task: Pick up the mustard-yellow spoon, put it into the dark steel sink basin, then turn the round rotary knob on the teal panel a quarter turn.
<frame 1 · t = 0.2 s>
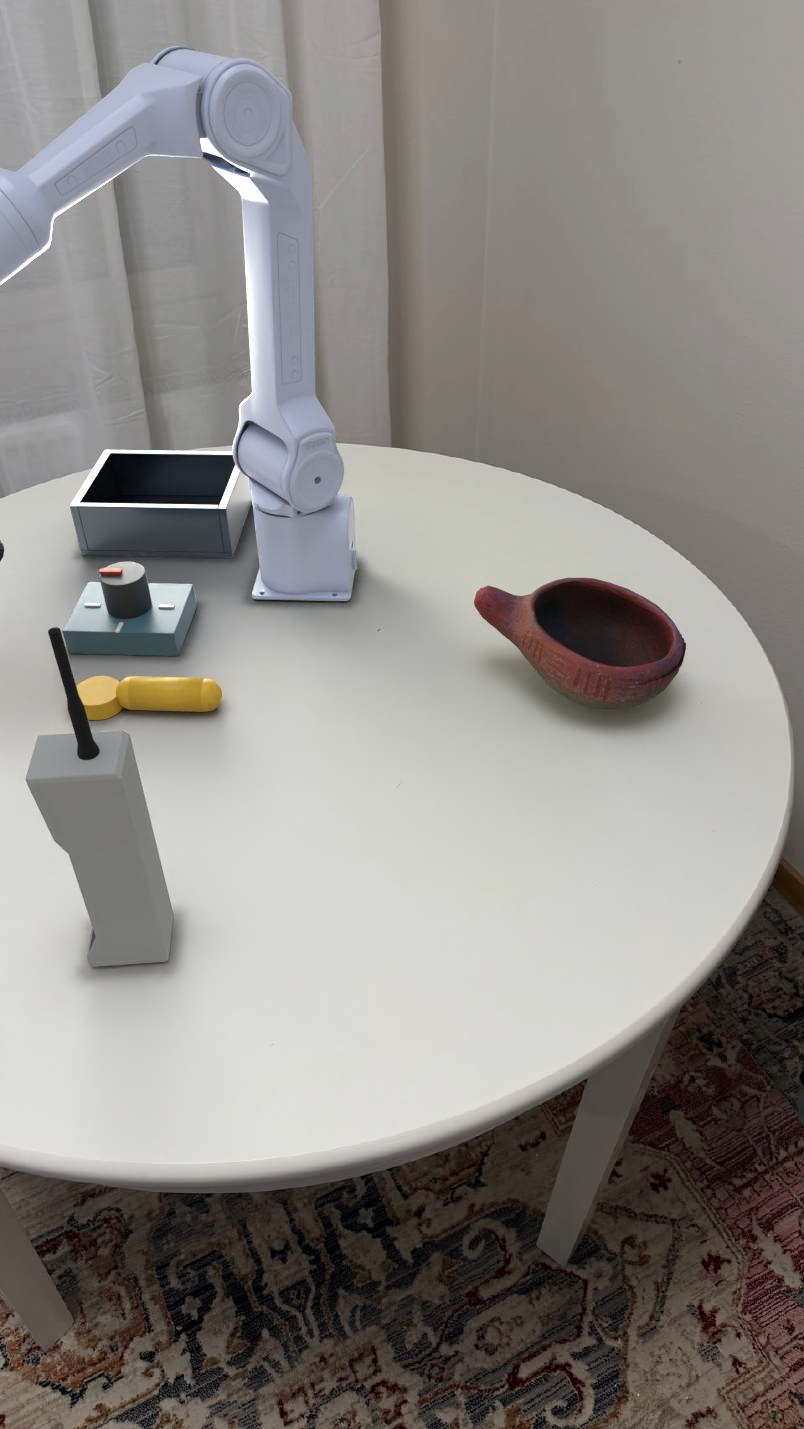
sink: (171, 525, 107), on the table
tap panel: (134, 629, 93), on the table
bowl: (577, 689, 86), on the table
rotary knob: (125, 588, 90), point 4 cm above the table, hinge at 0.0°
vintage mobile phone: (134, 944, 66), on the table
spoon: (171, 707, 84), on the table
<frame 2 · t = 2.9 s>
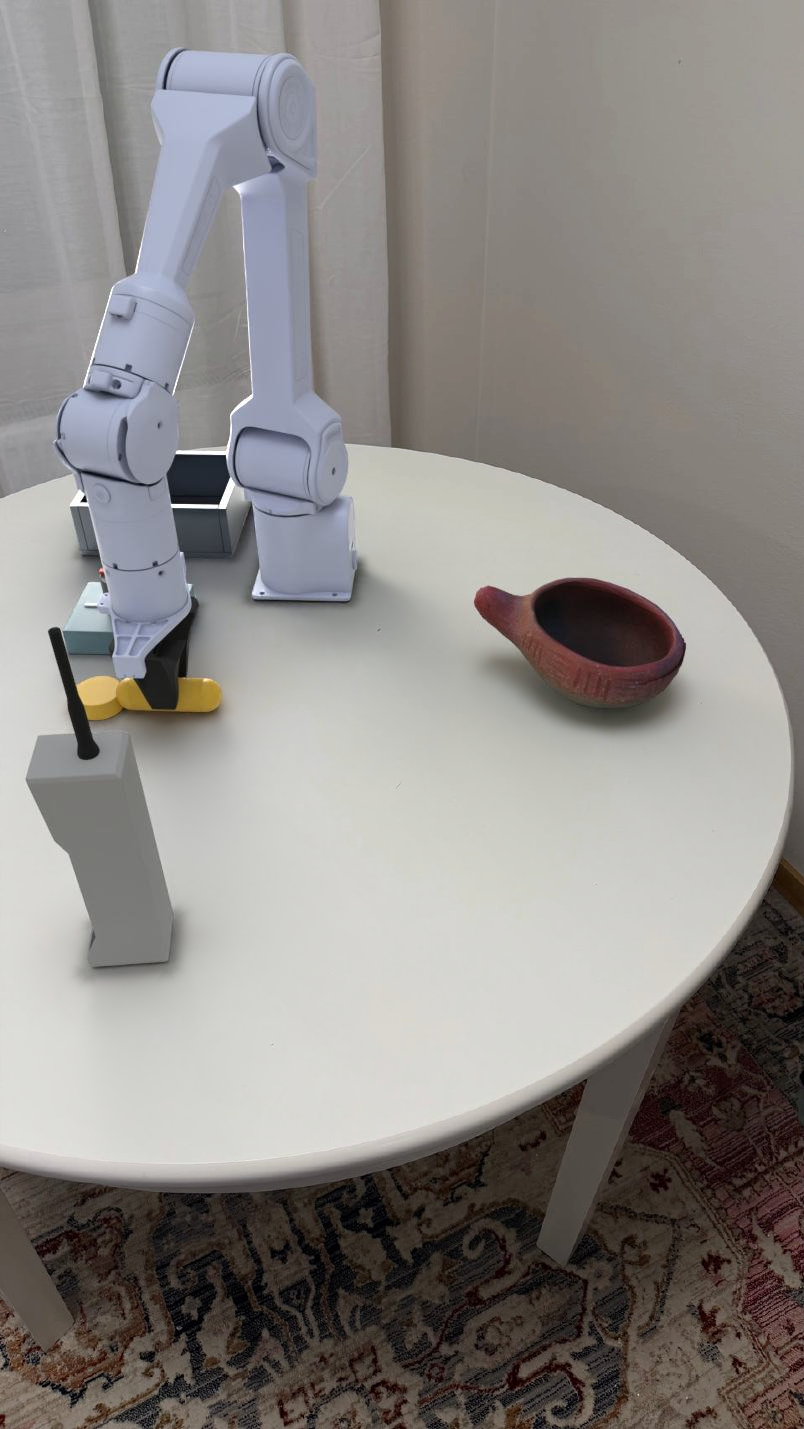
hand: (169, 693, 83), 1 cm above the table, tool pointing down, fingers closed on spoon, 3 cm apart
spoon: (171, 707, 84), on the table, touching gripper
everything else where it was.
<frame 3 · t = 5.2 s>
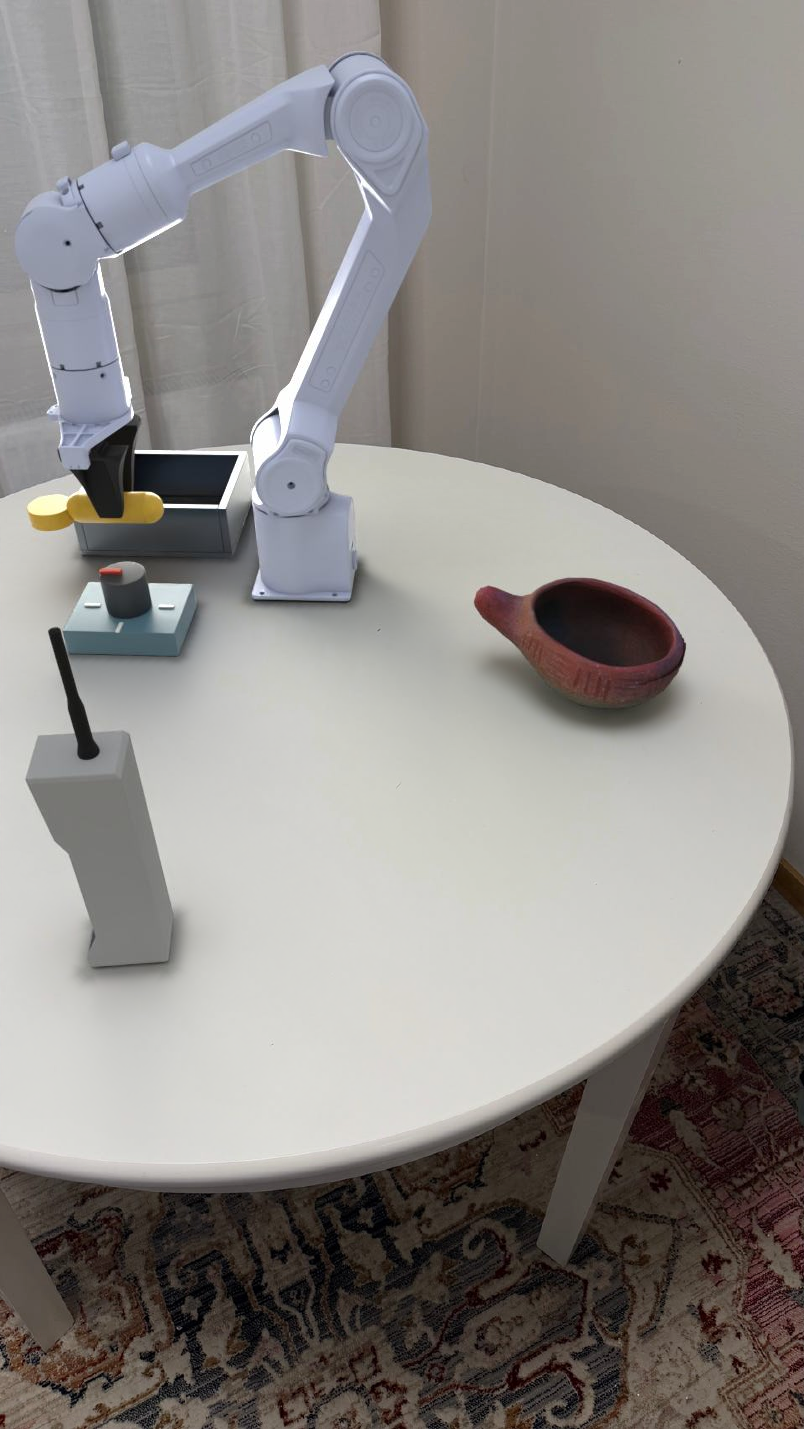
hand: (116, 507, 91), 9 cm above the table, tool pointing down, fingers closed on spoon, 3 cm apart
spoon: (118, 521, 92), point 8 cm above the table, touching gripper
everything else where it was.
when the fingers open (4 cm above the table, at t = 7.7 s): spoon stays where it is, resting on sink.
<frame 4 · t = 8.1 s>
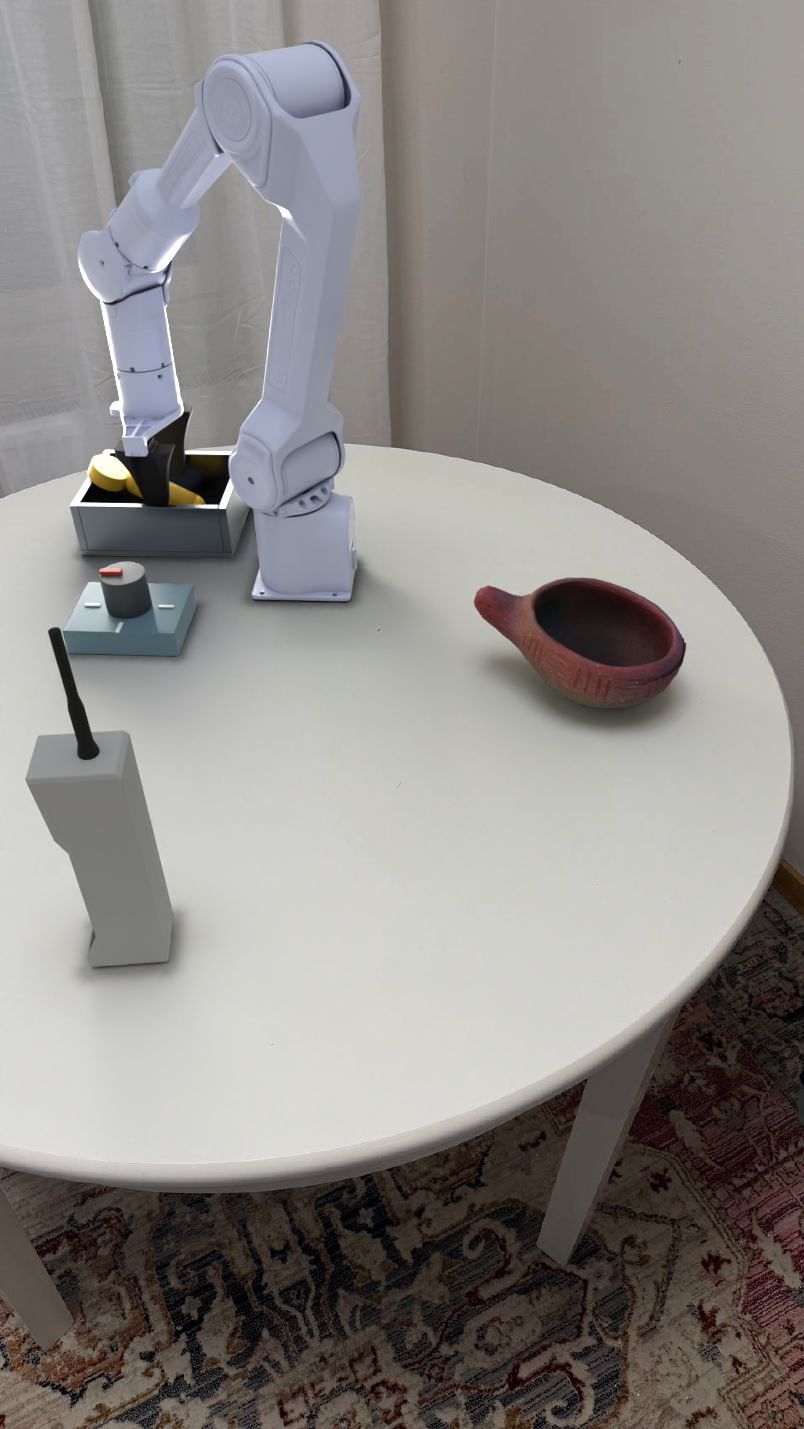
hand: (166, 490, 105), 4 cm above the table, tool pointing down, fingers open, 6 cm apart
spoon: (161, 504, 106), point 2 cm above the table, tilted 29°, touching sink
everything else where it was.
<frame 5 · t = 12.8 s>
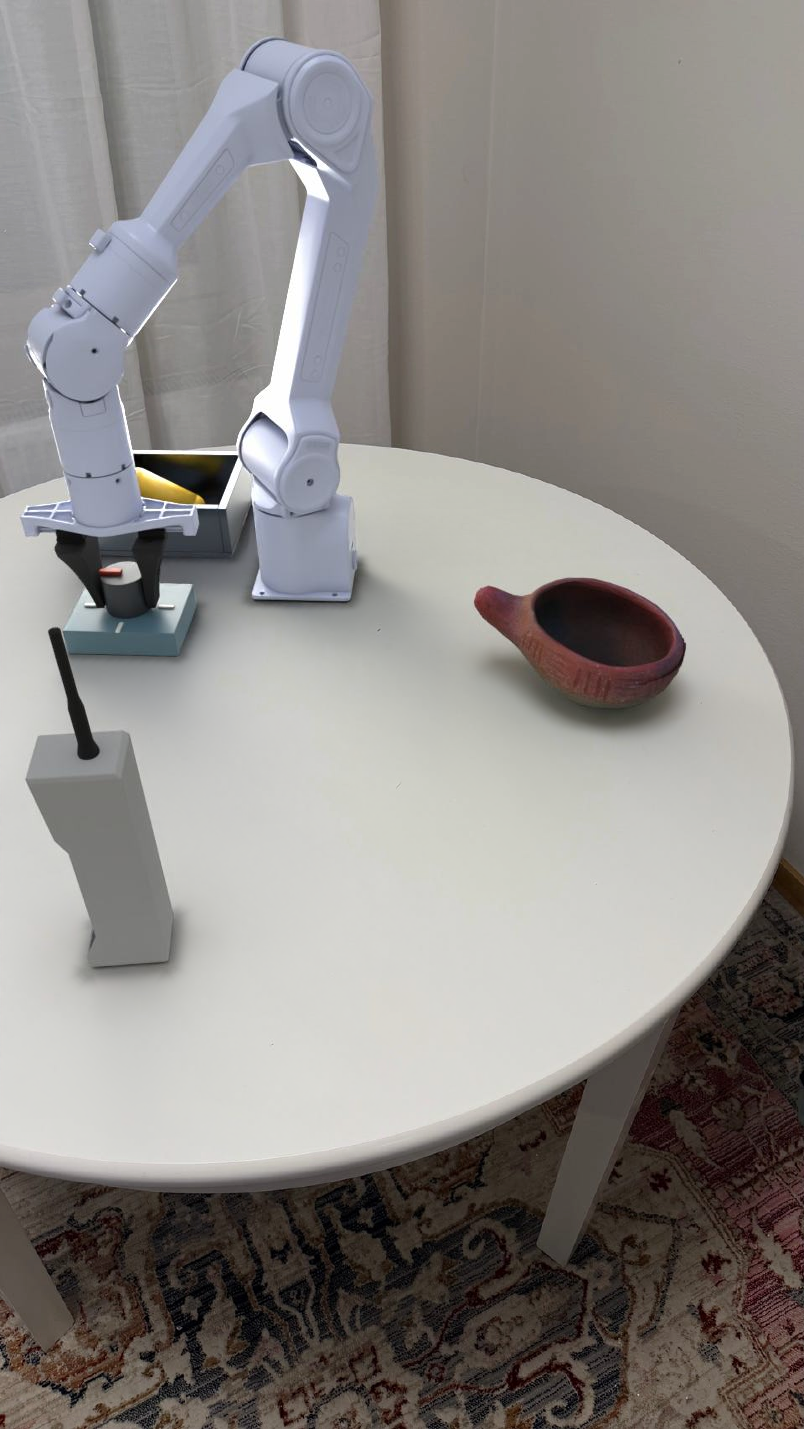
hand: (128, 601, 91), 3 cm above the table, tool pointing down, fingers closed on rotary knob, 4 cm apart
rotary knob: (125, 588, 90), point 4 cm above the table, hinge at 0.1°, touching gripper
everything else where it was.
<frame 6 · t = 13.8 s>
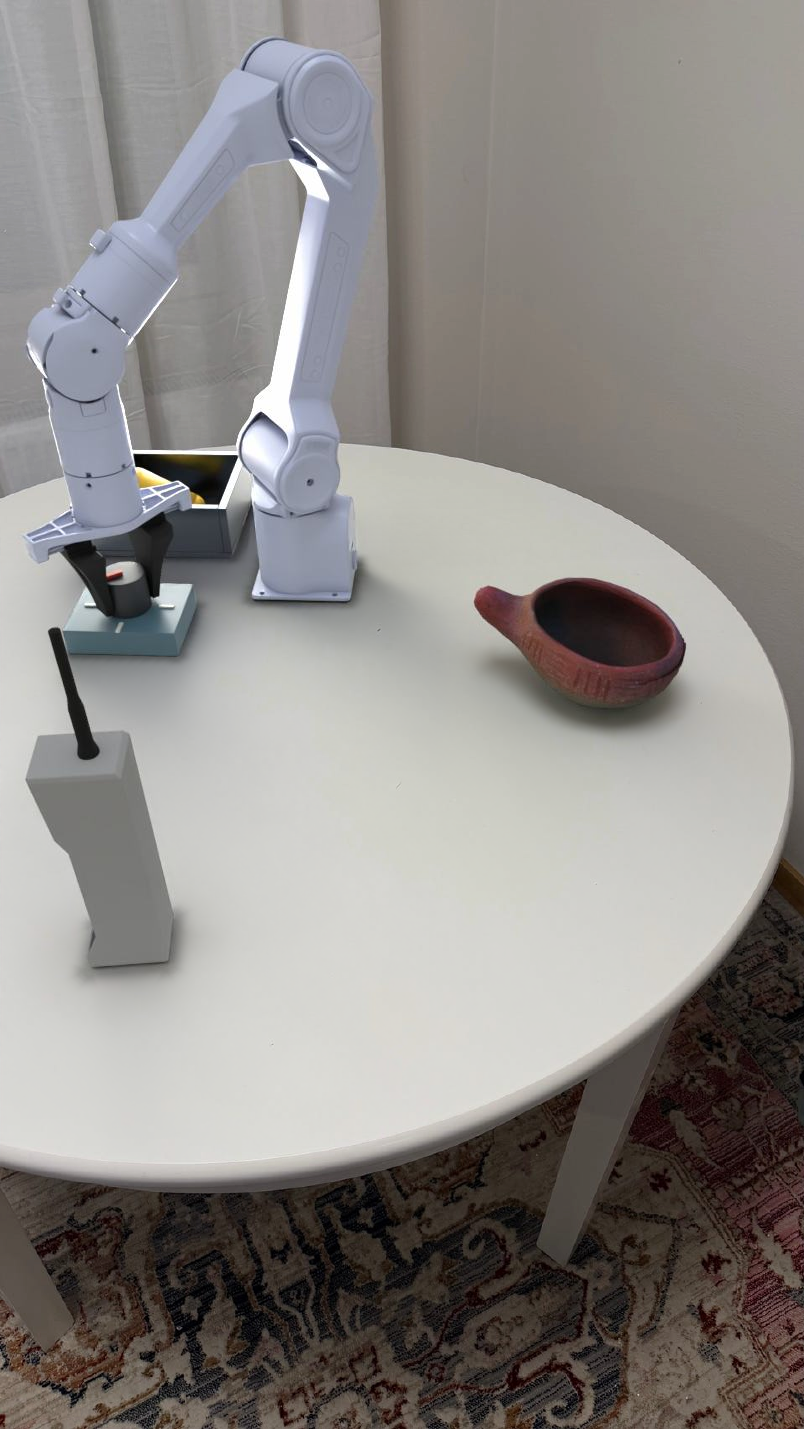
hand: (129, 601, 91), 3 cm above the table, tool pointing down, fingers closed on rotary knob, 4 cm apart
rotary knob: (125, 588, 90), point 4 cm above the table, hinge at 39.1°, touching gripper
everything else where it was.
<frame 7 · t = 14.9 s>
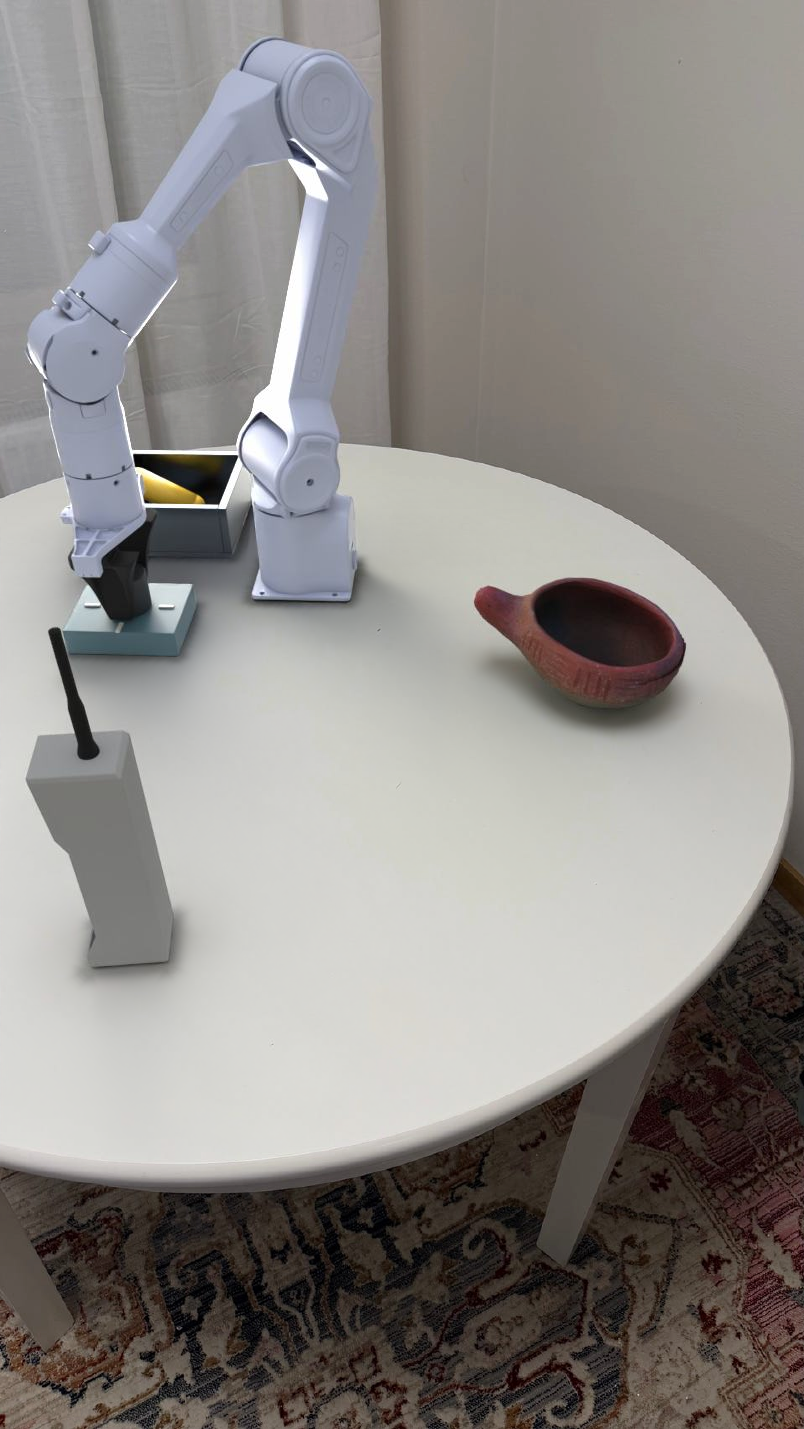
hand: (128, 603, 91), 3 cm above the table, tool pointing down, fingers closed on rotary knob, 4 cm apart
rotary knob: (125, 588, 90), point 4 cm above the table, hinge at 87.8°, touching gripper
everything else where it was.
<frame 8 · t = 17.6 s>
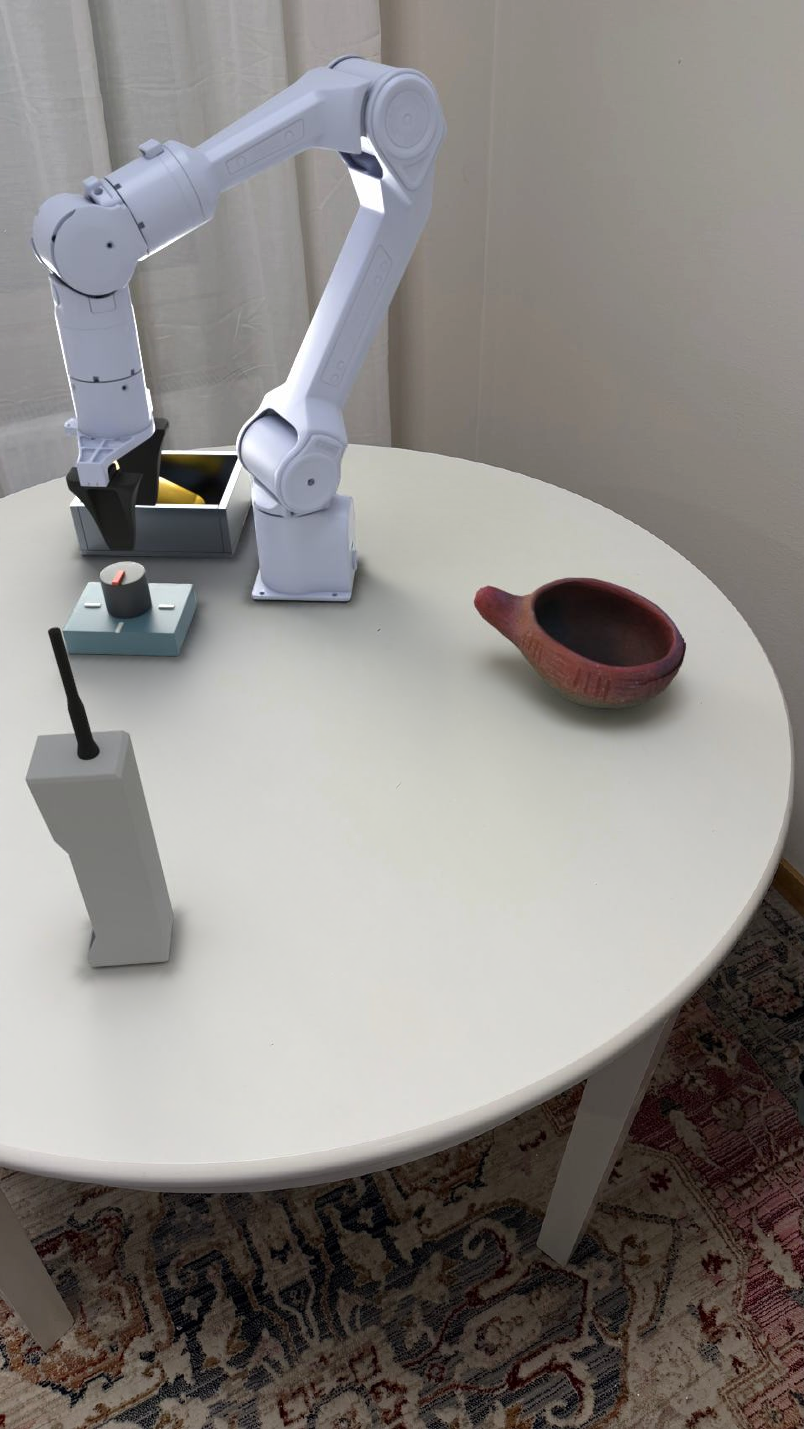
hand: (133, 525, 86), 10 cm above the table, tool pointing down, fingers open, 7 cm apart
rotary knob: (125, 588, 90), point 4 cm above the table, hinge at 87.5°
everything else where it was.
at the end: spoon inside the target area in the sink (0.9 cm from its centre), point 2.2 cm above the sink's base; rotary knob at +88° (first picture: +0°) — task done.
